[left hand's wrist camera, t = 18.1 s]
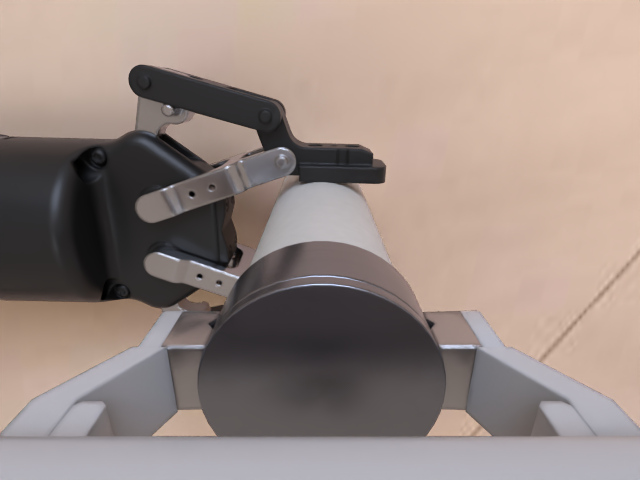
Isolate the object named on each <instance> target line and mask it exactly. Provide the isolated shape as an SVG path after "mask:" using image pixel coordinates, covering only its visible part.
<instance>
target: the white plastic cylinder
mask: <svg viewBox="0 0 640 480" xmlns="http://www.w3.org/2000/svg"><path fill="white" fill-rule="evenodd" d="M311 241H332V242H340V243H346V244H350V245H353V246H357V247H360V248H362V249H365V250H367V251H370V252H372V253H374V254H375V255H377V256H379V257H381V258H382V259H384V260H385V261H387V262H388V263H389V264H391V265H392V263H391V261H390V258H389V256H388V253H387V251H386V248H385V246H384V243H383V241H382V239H381V236H380V234H379V231H378V229H377V226H376V224H375V221H374V219H373V216H372V214H371V212H370V209H369V207H368V204H367V202H366V199H365V197H364V194H363V192H362V190H361V187H360V185H359V183H327V182H299V176H294V175H287V176H286V177H285V179H284V182H283V184H282V187H281V189H280V192H279V194H278V197H277V199H276V202H275V204H274V207H273V209H272V212H271V214H270V217H269V219H268V222H267V224H266V227H265V229H264V232H263V234H262V237H261V239H260V242H259V244H258V247H257V249H256V252H255V254H254V257H253V259H252V262H251V264H250V266H251V265H252V264H254V263H255V262H257V261H258V260H259V259H261V258H262V257H264V256H266V255H268V254H269V253H271V252H273V251H276V250H278V249H281V248H283V247H286V246H289V245H294V244H298V243H303V242H311Z"/></svg>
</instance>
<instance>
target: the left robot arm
mask: <svg viewBox="0 0 640 480" xmlns="http://www.w3.org/2000/svg"><path fill="white" fill-rule="evenodd" d="M423 314H424V316H425V319H426V321H427V323H428V325H429V327H430V330H431V332H432V334H433V336H434V339H435V341H436V343H437V345H438V347H439V350H440V352H441V355H442V358H443V361H444V366H445V372H446V390H445V397H444V402H443V405H442V408H441V409H454V410H466V412H467V413H468V414H469V415H470V416H471V417H472V418H473V419H474V420H476V421H477V422H478V423H479V424H480V425H481V426H482V427H483V428H484V429H485V430H486V431H488V432H489V433H490V434H491V435H492V436H152V435H153V434H154V433H155V432H156V431H157V430H158V429H159V428H160V427H162V426H163V425H164V424H165V423H166V422H167V421H168V420H169V419H170V418H171V417H172V416H173V415H175V414H176V413H177V410H189V409H202V407H201V404H200V400H199V394H198V387H197V380H198V369H199V364H200V359H201V356H202V354H203V351H204V348H205V346H206V344H207V341H208V339H209V337H210V335H211V333H212V330H213V328H214V326H215V324H216V321H217V319H218V317H219V315H220V312H218V311H165V312H163V313H162V314H161V315H160V317H159V318H158V320H157V321H156V322H155V324H154V325H153V327H152V328H151V329H150V331H149V332H148V334H147V335H146V336H145V338H144V339H143V341H142V342H141V343H140V345H139V346H138V347H131V348H129V349H127V350H125V351H123V352H121V353H119V354H118V355H116V356H114V357H112V358H110V359H108V360H106V361H104V362H102V363H100V364H98V365H97V366H95V367H93V368H91V369H89V370H87V371H85V372H83V373H81V374H79V375H78V376H76V377H74V378H72V379H70V380H68V381H66V382H64V383H62V384H60V385H58V386H57V387H55V388H53V389H51V390H49V391H47V392H45V393H43V394H41V395H39V396H37V397H36V398H34V399H32V400H31V401H30V402H29V403H28V404H27V405H26V406H25V407H24V408H23V410H22V411H21V412H20V413H19V414H18V415H17V416H16V417H15V418H14V419H13V420H12V421H11V422H10V423H9V425H8V426H7V427H6V428H5V429H4V430H3V431H2V432H1V433H0V480H640V428H639V427H638V426H637V425H636V424H635V423H634V422H633V420H632V419H631V418H630V417H629V416H628V415H627V414H626V413H625V412H624V411H623V410H622V409H621V408H620V407H619V406H618V405H617V403H616V402H615V401H614V400H612V399H610V398H608V397H607V396H605V395H603V394H601V393H599V392H597V391H595V390H593V389H591V388H589V387H587V386H585V385H584V384H582V383H580V382H578V381H576V380H574V379H572V378H570V377H568V376H566V375H564V374H562V373H561V372H559V371H557V370H555V369H553V368H551V367H549V366H547V365H545V364H543V363H541V362H539V361H538V360H536V359H534V358H532V357H530V356H528V355H526V354H524V353H522V352H520V351H518V350H516V349H515V348H513V347H505V346H504V344H503V343H502V341H501V340H500V339H499V337H498V336H497V335H496V333H495V332H494V331H493V329H492V328H491V326H490V325H489V324H488V322H487V321H486V320H485V318H484V317H483V315H482V314H481V313H480V312H479V311H477V310H475V311H445V312H423Z"/></svg>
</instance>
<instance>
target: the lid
mask: <svg viewBox="0 0 640 480" xmlns="http://www.w3.org/2000/svg"><path fill="white" fill-rule="evenodd" d="M197 387H198V394H199V400H200V404H201V407H202V410H203V413H204V415H205V417H206V419H207V421H208V423H209V425H210V426H211V428H212V429H213V431H214V432H215V434H216V435H217V436H426V435H427V434H428V433H429V431H430V430H431V428H432V427H433V425H434V424H435V422H436V420H437V418H438V416H439V414H440V411H441V408H442V405H443V402H444V397H445V390H446V372H445V366H444V361H443V358H442V355H441V352H440V350H439V347H438V345H437V343H436V341H435V339H434V336H433V334H432V332H431V330H430V327H429V325H428V323H427V321H426V319H425V316H424V314H423V312H422V310H421V308H420V305H419V303H418V301H417V299H416V297H415V295H414V293H413V291H412V289H411V287H410V286H409V284H408V283H407V281H406V280H405V279H404V277H403V276H402V275H401V274H400V273H399V272H398V271H397V270H396V269H395V268H394V267H393V266H392V265H391V264H389V263H388V262H387V261H385V260H384V259H382V258H381V257H379V256H377V255H375V254H374V253H372V252H370V251H367V250H365V249H362V248H360V247H357V246H353V245H350V244H346V243H340V242H332V241H311V242H303V243H298V244H294V245H289V246H286V247H283V248H281V249H278V250H276V251H273V252H271V253H269V254H268V255H266V256H264V257H262V258H261V259H259V260H258V261H257V262H255V263H254V264H252V265H251V266H250V267H249V268H248V269H247V270H246V271H245V272H244V273H243V274H242V275H241V276H240V277H239V279H238V280H237V281H236V283H235V284H234V286H233V287H232V289H231V291H230V293H229V295H228V297H227V299H226V301H225V303H224V306H223V308H222V310H221V312H220V315H219V317H218V319H217V321H216V324H215V326H214V328H213V330H212V333H211V335H210V337H209V339H208V341H207V344H206V346H205V348H204V351H203V354H202V356H201V359H200V364H199V369H198V380H197Z"/></svg>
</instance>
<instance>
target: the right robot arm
mask: <svg viewBox="0 0 640 480" xmlns="http://www.w3.org/2000/svg"><path fill="white" fill-rule="evenodd" d="M129 85H130V87H131V89H132V90H133V92H134V93H135V94H136V95H138V106H137V117H136V127H135V131H131V132H128V133H126V134H125V135H123V136H121V137H120V138H118V139H79V138H41V137H9V136H6V135H0V300H16V301H17V300H18V301H62V302H105V301H111V300H118V299H128V298H129V299H135V300H138V301H141V302H143V303H146V304H148V305H150V306H152V307H156V308H161V309H162V311H163V312H165V311H218V312H221V310H222V308H223V306H224V305H220V306H215V307H210V305H209V303H208V302H202V303H194V302H191V301H189V300H187V299H186V297H188V296H189V295H191V294H192V293H194V292H195V291H197V290H198V289H203V290H206V291H209V292H212V293H215V294H218V295H221V296H224V297H228V295H229V293H230V291H231V289H232V287H233V286H234V284H235V283H236V281H237V280H238V279H239V277H240V276H241V275H242V274H243V273H244V272H245V271H246V270H247V269H248V268H249V267H250V264H251V262H252V259H253V257H254V254H255V252H256V250H255V249H253V248H250V247H247V246H244V245H242V244H239V243H237V235H236V230H235V227H234V225H233V222H232V218H231V217H232V212H233V208H234V203H235V200H234V195H237V194H239V193H241V192H244V191H245V190H247V189H249V188H251V187H254V186H257V185H260V184H263V183H266V182H269V181H272V180H275V179H278V178H281V177H284V176H287V175H294V176H299V182H327V183H366V184H380V183H384V182H385V173H386V165H385V164H384V163H383V162H382V161H381V160H378V159H373V153H372V152H371V151H370V149H368V148H366V147H363V146H361V145H359V144H324V143H304V142H301V141H299V140H297V139H296V138H295V137H294V136H293V134H292V132H291V130H290V127H289V124H288V121H287V118H286V111H285V107H284V106H283V104H282V103H281V102H280V101H278V100H276V99H273V98H269V97H266V96H262V95H259V94H255V93H252V92H249V91H245V90H242V89H238V88H235V87H231V86H228V85H224V84H221V83H218V82H214V81H211V80H207V79H204V78H200V77H197V76H193V75H190V74H187V73H183V72H180V71H176V70H173V69H169V68H163V67H157V66H148V65H138V66H135V67H134V68H133V69H132V70H131V71H130V73H129ZM195 113H198V114H202V115H205V116H209V117H212V118H216V119H220V120H223V121H227V122H230V123H234V124H237V125H241V126H244V127H248V128H252V129H255V130H257V133H258V136H259V138H260V141H261V143H262V146H263V147H262V148H259V149H256V150H253V151H250V152H245V153H242V154H239V155H236V156H233V157H230V158H227V159H224V160H221V161H218V162H215V163H213V164H210V165H209V164H208V163H207V162H205V161H204V160H202V159H201V158H200V157H198V156H197V155H195V154H194V153H193V152H191V151H190V150H188V149H187V148H186V147H184V146H183V145H181V144H180V143H178V142H177V141H176V140H174V139H173V138H171V137H170V136H169V135H167V134H166V133H165V130H166V128H167V127H168V126H169V125H170V124H181V123H185V122H188V121H190V120H191V119H192V118H193V116H194V114H195ZM227 266H229V267H232V268H228V267H227Z"/></svg>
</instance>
